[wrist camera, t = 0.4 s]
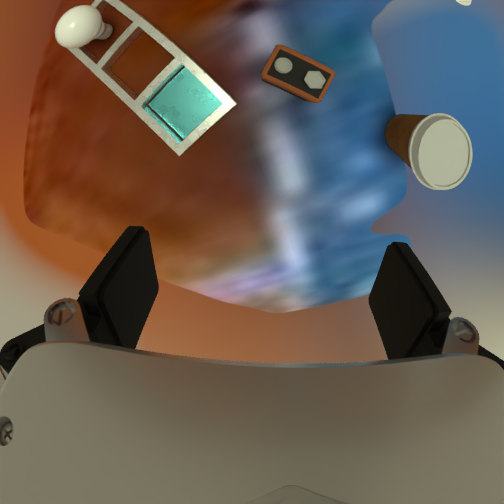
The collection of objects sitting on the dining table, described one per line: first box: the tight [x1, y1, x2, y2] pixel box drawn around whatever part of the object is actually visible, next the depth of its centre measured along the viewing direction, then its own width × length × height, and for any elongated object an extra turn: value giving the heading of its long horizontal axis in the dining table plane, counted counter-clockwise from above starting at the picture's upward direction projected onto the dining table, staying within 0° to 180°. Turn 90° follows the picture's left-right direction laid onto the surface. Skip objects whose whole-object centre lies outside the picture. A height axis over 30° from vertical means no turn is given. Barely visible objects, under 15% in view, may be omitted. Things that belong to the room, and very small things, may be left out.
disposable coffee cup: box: [385, 113, 472, 190], centre depth 28 cm, size 10×10×12 cm
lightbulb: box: [55, 5, 113, 48], centre depth 21 cm, size 6×6×11 cm
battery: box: [261, 45, 335, 103], centre depth 26 cm, size 4×7×10 cm, turn 66°
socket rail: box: [68, 0, 238, 156], centre depth 28 cm, size 10×29×2 cm, turn 41°
